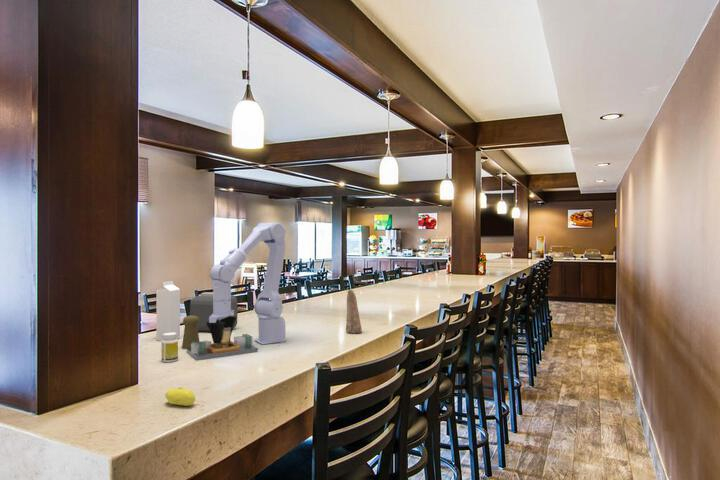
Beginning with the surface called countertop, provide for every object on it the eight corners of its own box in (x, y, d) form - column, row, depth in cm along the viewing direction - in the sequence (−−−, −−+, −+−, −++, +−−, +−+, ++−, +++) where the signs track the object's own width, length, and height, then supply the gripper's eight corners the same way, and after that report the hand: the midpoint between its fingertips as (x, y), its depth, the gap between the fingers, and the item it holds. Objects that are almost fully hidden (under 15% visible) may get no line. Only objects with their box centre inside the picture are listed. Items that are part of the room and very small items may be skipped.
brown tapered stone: (345, 333, 189) (348, 336, 183) (338, 290, 188) (341, 292, 182) (360, 330, 191) (363, 333, 185) (353, 287, 189) (357, 289, 184)
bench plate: (244, 344, 166) (244, 331, 166) (257, 351, 156) (257, 338, 156) (185, 352, 155) (185, 338, 155) (195, 360, 144) (195, 345, 144)
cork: (194, 349, 159) (194, 317, 159) (178, 348, 160) (178, 317, 160) (203, 345, 165) (203, 314, 165) (188, 344, 166) (188, 314, 166)
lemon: (186, 410, 102) (185, 393, 102) (160, 404, 106) (160, 388, 106) (200, 404, 106) (200, 387, 106) (175, 399, 110) (175, 382, 110)
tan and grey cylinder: (221, 346, 158) (220, 326, 158) (233, 347, 157) (233, 326, 157) (213, 349, 154) (213, 328, 154) (226, 350, 153) (226, 329, 153)
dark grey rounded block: (237, 328, 196) (237, 292, 196) (223, 334, 185) (223, 295, 185) (202, 327, 200) (202, 291, 200) (187, 332, 189) (187, 294, 189)
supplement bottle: (181, 359, 146) (181, 332, 146) (170, 363, 141) (170, 335, 141) (169, 358, 147) (168, 331, 147) (158, 361, 143) (158, 334, 143)
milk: (156, 340, 173) (155, 281, 173) (166, 337, 179) (166, 280, 179) (170, 341, 171) (169, 282, 171) (180, 338, 177) (179, 280, 177)
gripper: (223, 303, 148) (223, 345, 148) (242, 297, 162) (242, 336, 162) (203, 302, 149) (203, 345, 149) (223, 297, 163) (223, 335, 163)
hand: (222, 340), depth 155 cm, fingers open, 7 cm apart
